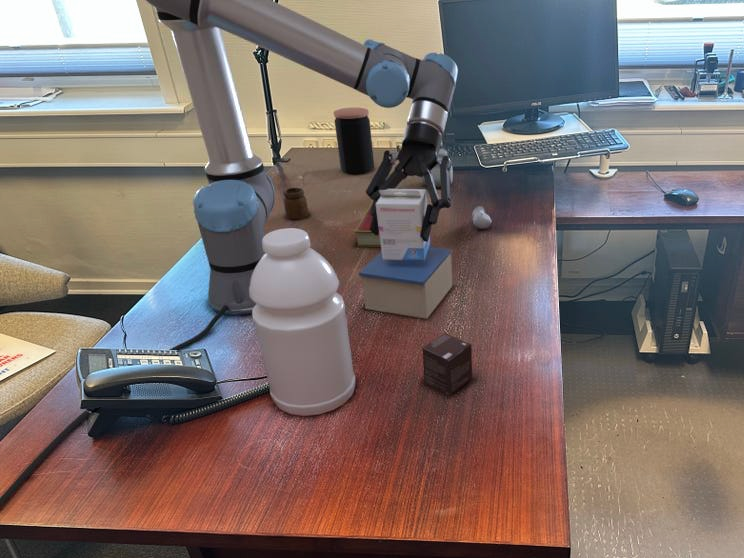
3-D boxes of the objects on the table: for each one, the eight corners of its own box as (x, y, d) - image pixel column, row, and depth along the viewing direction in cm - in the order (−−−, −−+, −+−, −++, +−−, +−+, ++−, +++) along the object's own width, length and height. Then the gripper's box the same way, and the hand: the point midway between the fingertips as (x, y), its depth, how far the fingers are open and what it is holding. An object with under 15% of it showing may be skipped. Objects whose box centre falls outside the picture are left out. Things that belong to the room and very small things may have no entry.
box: (447, 367, 114) (445, 331, 110) (473, 379, 111) (472, 343, 107) (423, 383, 110) (421, 347, 106) (449, 396, 107) (448, 359, 103)
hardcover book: (417, 215, 174) (416, 200, 171) (405, 247, 156) (403, 231, 154) (374, 214, 175) (372, 199, 172) (356, 246, 157) (354, 230, 155)
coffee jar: (381, 168, 208) (375, 109, 198) (359, 177, 200) (352, 117, 190) (356, 163, 213) (349, 105, 202) (333, 171, 205) (325, 113, 195)
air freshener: (426, 178, 199) (424, 145, 193) (453, 178, 199) (452, 145, 193) (422, 190, 190) (420, 156, 184) (450, 190, 190) (449, 156, 184)
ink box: (431, 243, 133) (427, 180, 125) (424, 261, 126) (419, 195, 118) (390, 242, 134) (384, 179, 126) (381, 260, 127) (374, 194, 119)
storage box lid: (423, 285, 123) (423, 282, 123) (359, 276, 127) (358, 272, 126) (451, 252, 135) (451, 249, 135) (391, 245, 139) (391, 241, 138)
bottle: (303, 361, 116) (274, 212, 100) (371, 377, 112) (352, 224, 96) (254, 406, 105) (213, 248, 89) (326, 426, 101) (297, 263, 85)
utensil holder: (310, 218, 173) (303, 173, 166) (286, 221, 171) (278, 176, 164) (307, 210, 177) (300, 167, 171) (283, 213, 176) (275, 170, 169)
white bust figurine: (489, 235, 165) (470, 230, 164) (488, 222, 172) (469, 217, 171) (495, 220, 163) (475, 214, 162) (493, 207, 169) (474, 202, 168)
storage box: (427, 318, 128) (424, 283, 124) (365, 308, 132) (361, 274, 127) (452, 286, 140) (451, 253, 135) (394, 277, 143) (391, 245, 139)
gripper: (482, 145, 129) (458, 249, 125) (380, 137, 135) (354, 236, 131) (473, 124, 122) (447, 234, 118) (366, 116, 128) (338, 221, 124)
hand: (398, 235), depth 125 cm, fingers closed on ink box, 10 cm apart
